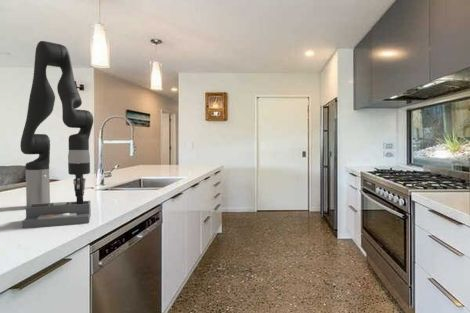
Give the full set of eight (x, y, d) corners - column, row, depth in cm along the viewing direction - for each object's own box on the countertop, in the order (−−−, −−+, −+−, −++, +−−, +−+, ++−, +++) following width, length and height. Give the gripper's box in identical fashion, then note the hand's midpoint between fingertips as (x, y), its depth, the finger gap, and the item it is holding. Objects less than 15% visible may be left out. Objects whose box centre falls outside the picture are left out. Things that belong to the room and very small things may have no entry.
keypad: (31, 219, 123) (31, 203, 123) (90, 214, 130) (90, 200, 130) (22, 228, 110) (22, 210, 110) (88, 223, 117) (88, 206, 117)
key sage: (54, 208, 123) (54, 202, 123) (67, 207, 125) (67, 202, 125) (52, 210, 119) (52, 205, 119) (66, 209, 120) (66, 204, 120)
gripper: (70, 161, 128) (71, 204, 129) (66, 162, 116) (67, 210, 117) (90, 160, 131) (91, 202, 132) (88, 162, 119) (89, 209, 119)
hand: (80, 206), depth 124 cm, fingers closed
